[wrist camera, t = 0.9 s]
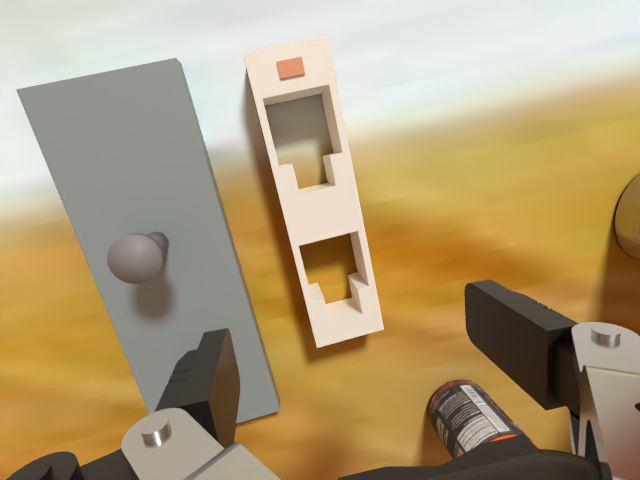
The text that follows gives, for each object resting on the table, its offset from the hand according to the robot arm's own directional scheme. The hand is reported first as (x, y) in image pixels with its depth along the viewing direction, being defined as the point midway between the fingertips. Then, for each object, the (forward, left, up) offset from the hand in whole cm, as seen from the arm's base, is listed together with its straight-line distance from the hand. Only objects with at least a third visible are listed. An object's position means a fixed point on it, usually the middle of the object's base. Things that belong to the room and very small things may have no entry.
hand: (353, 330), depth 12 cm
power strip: (-1, -3, -17) cm, 18 cm away
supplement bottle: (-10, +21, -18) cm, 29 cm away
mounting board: (+11, +1, -17) cm, 20 cm away
